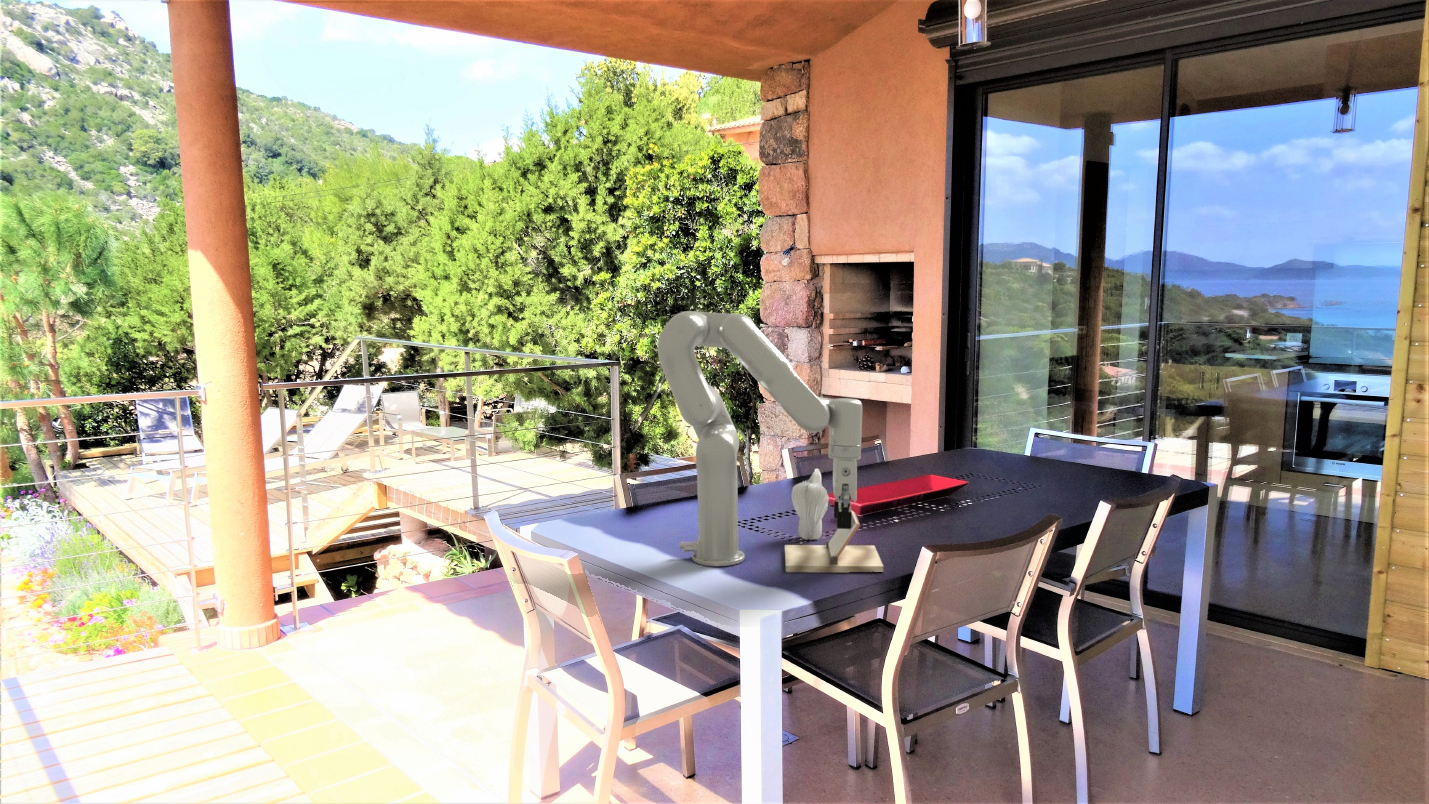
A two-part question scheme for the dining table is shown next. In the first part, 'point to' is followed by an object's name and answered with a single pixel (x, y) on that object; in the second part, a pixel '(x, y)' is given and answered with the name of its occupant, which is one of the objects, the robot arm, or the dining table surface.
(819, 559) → the board
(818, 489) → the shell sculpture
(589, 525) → the dining table surface
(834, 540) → the tile
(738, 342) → the robot arm
